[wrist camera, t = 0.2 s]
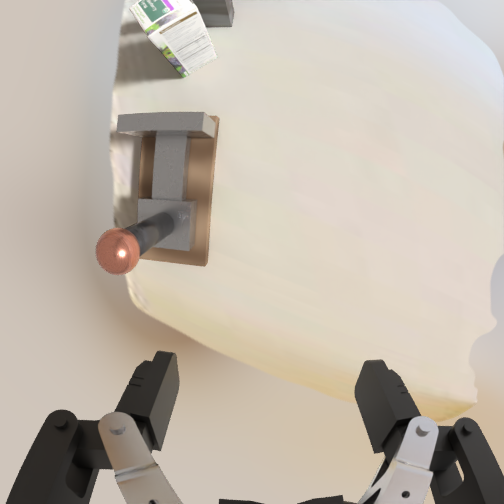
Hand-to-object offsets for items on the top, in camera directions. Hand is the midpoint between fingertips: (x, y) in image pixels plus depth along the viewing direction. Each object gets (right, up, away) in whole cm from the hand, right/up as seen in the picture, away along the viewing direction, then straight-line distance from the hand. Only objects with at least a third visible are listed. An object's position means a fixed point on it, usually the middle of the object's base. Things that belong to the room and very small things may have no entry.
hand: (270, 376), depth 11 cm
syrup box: (-9, +33, +21) cm, 40 cm away
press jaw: (-11, +14, +24) cm, 30 cm away
